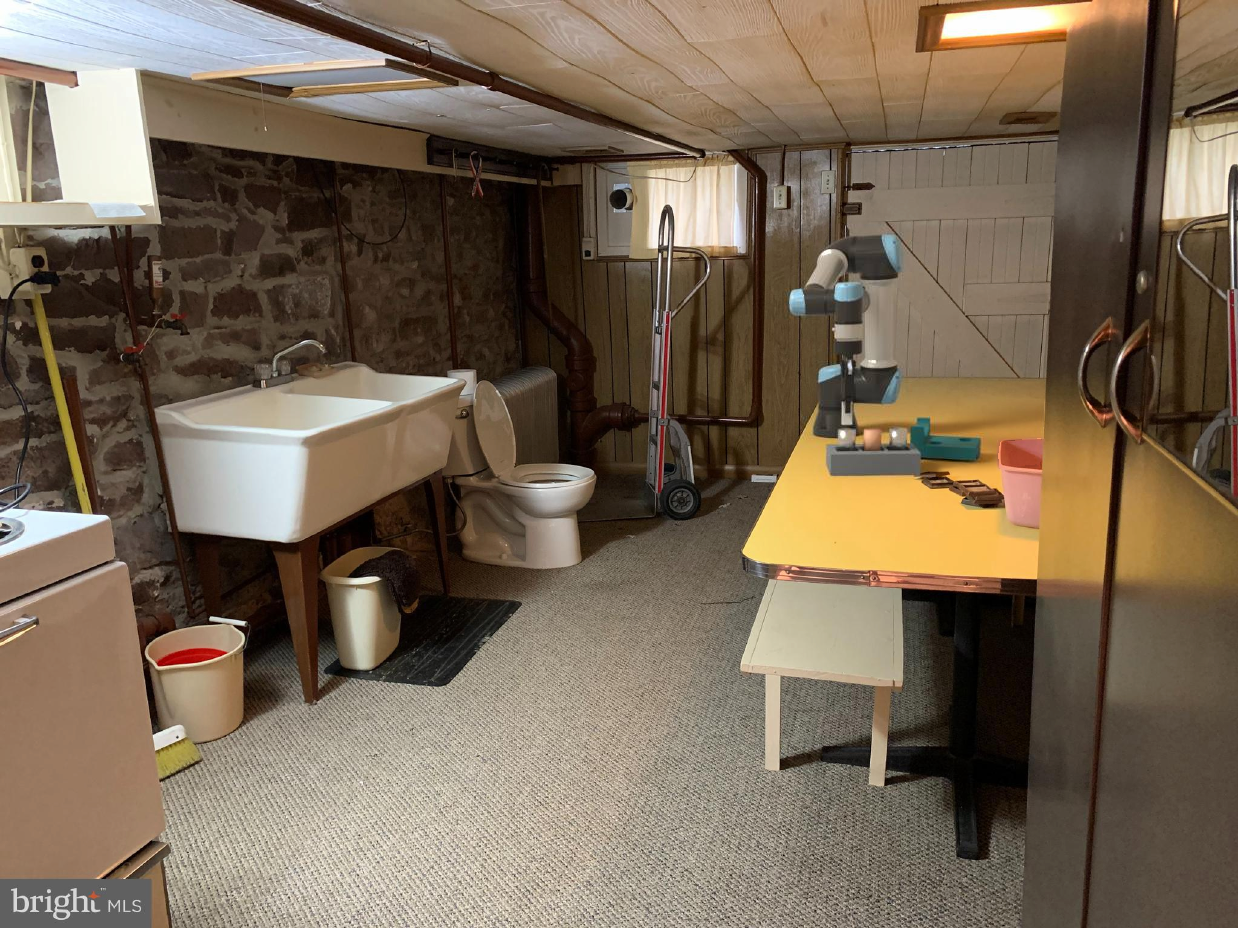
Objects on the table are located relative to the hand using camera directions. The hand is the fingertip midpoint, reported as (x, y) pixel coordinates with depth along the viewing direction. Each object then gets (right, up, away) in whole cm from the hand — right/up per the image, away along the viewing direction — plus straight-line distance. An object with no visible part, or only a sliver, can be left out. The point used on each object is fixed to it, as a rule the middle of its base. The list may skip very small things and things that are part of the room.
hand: (846, 424), depth 263 cm
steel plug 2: (+14, -7, 0) cm, 16 cm away
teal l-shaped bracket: (+32, -9, +14) cm, 36 cm away
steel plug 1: (0, -8, +2) cm, 8 cm away
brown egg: (+7, -8, +1) cm, 10 cm away
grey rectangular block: (+7, -13, +2) cm, 15 cm away
